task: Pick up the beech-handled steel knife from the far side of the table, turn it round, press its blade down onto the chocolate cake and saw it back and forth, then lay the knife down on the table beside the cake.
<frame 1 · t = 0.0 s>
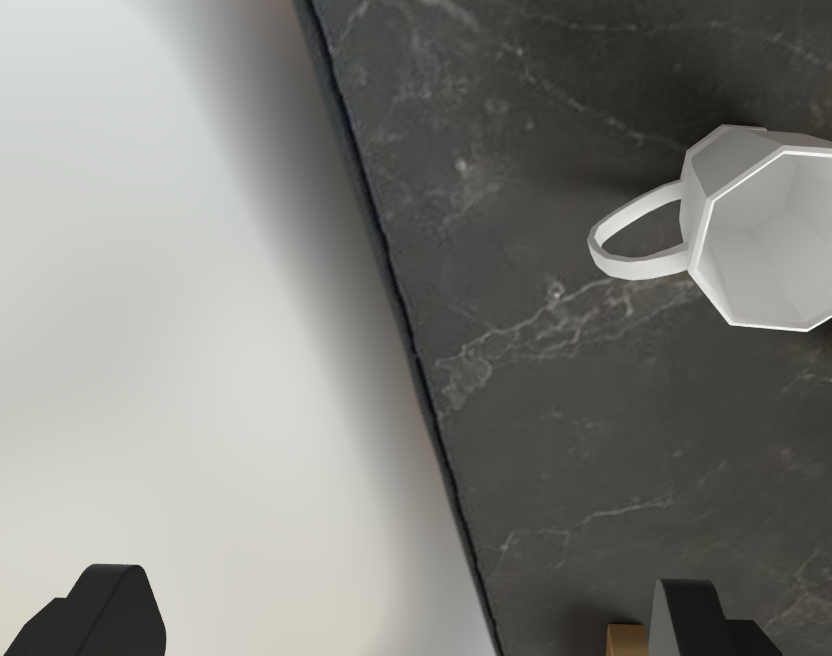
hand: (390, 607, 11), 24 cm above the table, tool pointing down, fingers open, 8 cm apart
knife: (623, 655, 47), on the table
cup: (693, 182, 32), on the table
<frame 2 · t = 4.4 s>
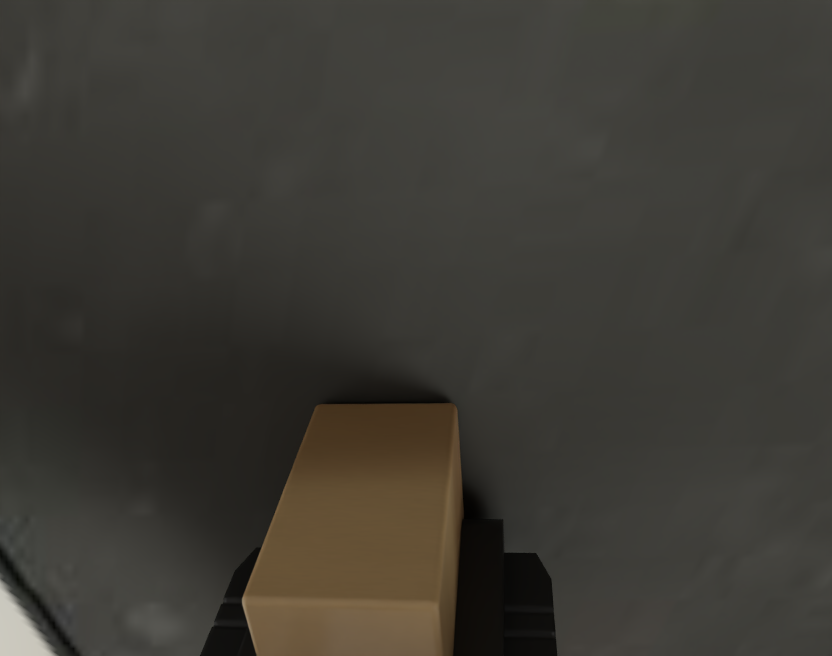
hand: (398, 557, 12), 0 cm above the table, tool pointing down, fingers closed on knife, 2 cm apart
knife: (402, 545, 13), on the table, touching gripper
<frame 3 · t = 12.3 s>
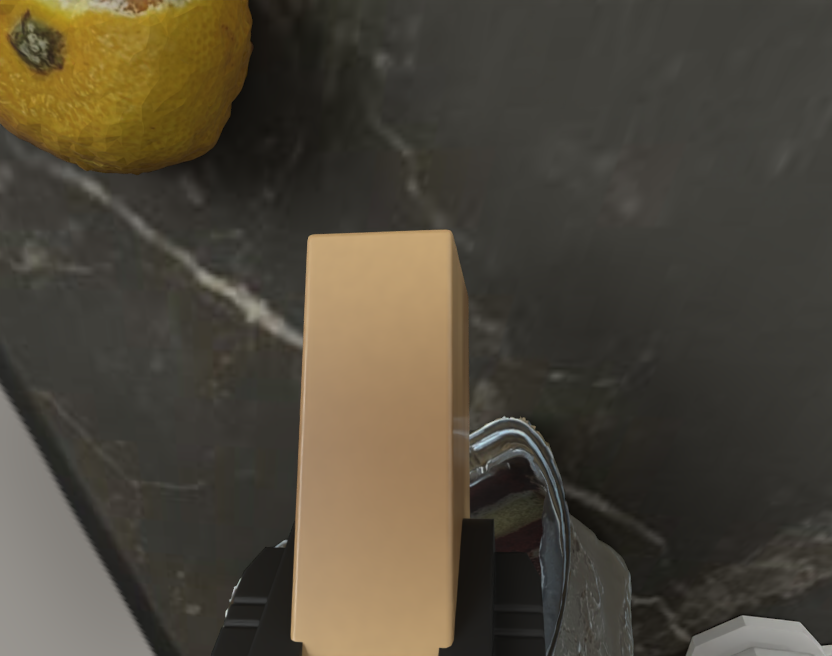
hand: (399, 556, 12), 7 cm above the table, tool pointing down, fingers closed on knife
knife: (411, 448, 14), point 5 cm above the table, tilted 41°, touching gripper
cup: (800, 650, 23), on the table
chocolate cake: (450, 567, 22), on the table
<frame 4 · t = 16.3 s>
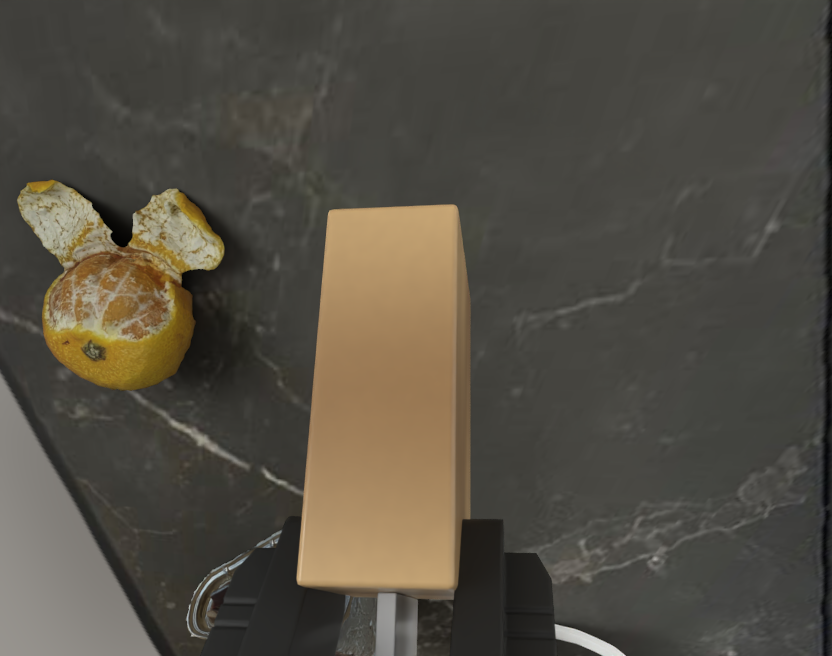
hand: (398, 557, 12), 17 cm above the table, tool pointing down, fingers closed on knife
fruit: (144, 264, 30), on the table
knife: (414, 437, 14), point 15 cm above the table, tilted 51°, touching gripper
cup: (531, 628, 38), on the table
chocolate cake: (322, 579, 38), on the table
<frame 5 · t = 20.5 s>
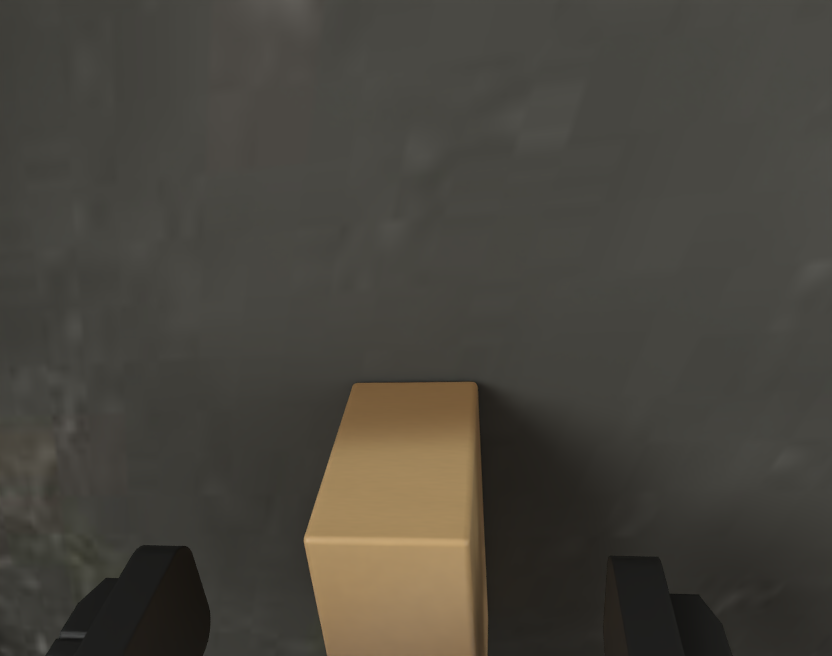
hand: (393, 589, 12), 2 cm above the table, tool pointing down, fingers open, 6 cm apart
knife: (426, 510, 14), on the table
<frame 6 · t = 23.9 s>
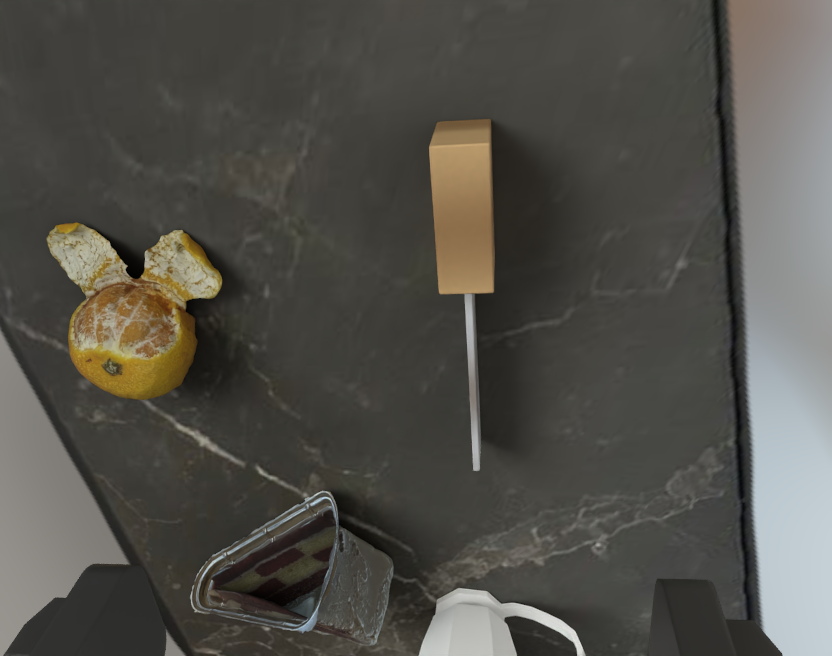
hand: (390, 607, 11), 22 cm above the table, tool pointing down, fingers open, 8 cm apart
fruit: (153, 292, 35), on the table
knife: (466, 191, 31), on the table
cup: (493, 606, 43), on the table
chocolate cake: (309, 563, 43), on the table
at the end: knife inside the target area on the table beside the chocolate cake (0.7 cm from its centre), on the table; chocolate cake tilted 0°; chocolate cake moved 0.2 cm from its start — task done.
